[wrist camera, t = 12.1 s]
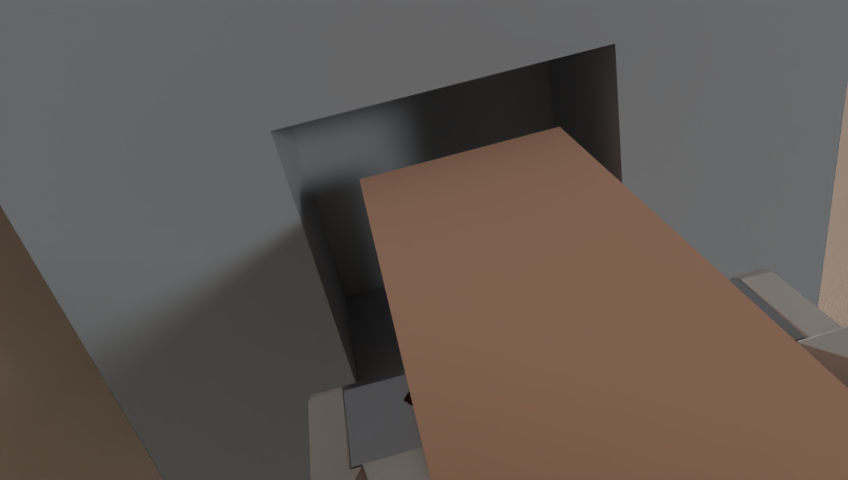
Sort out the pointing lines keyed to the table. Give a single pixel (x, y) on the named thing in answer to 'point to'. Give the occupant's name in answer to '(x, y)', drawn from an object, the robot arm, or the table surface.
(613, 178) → the block
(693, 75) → the holder
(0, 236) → the table surface
